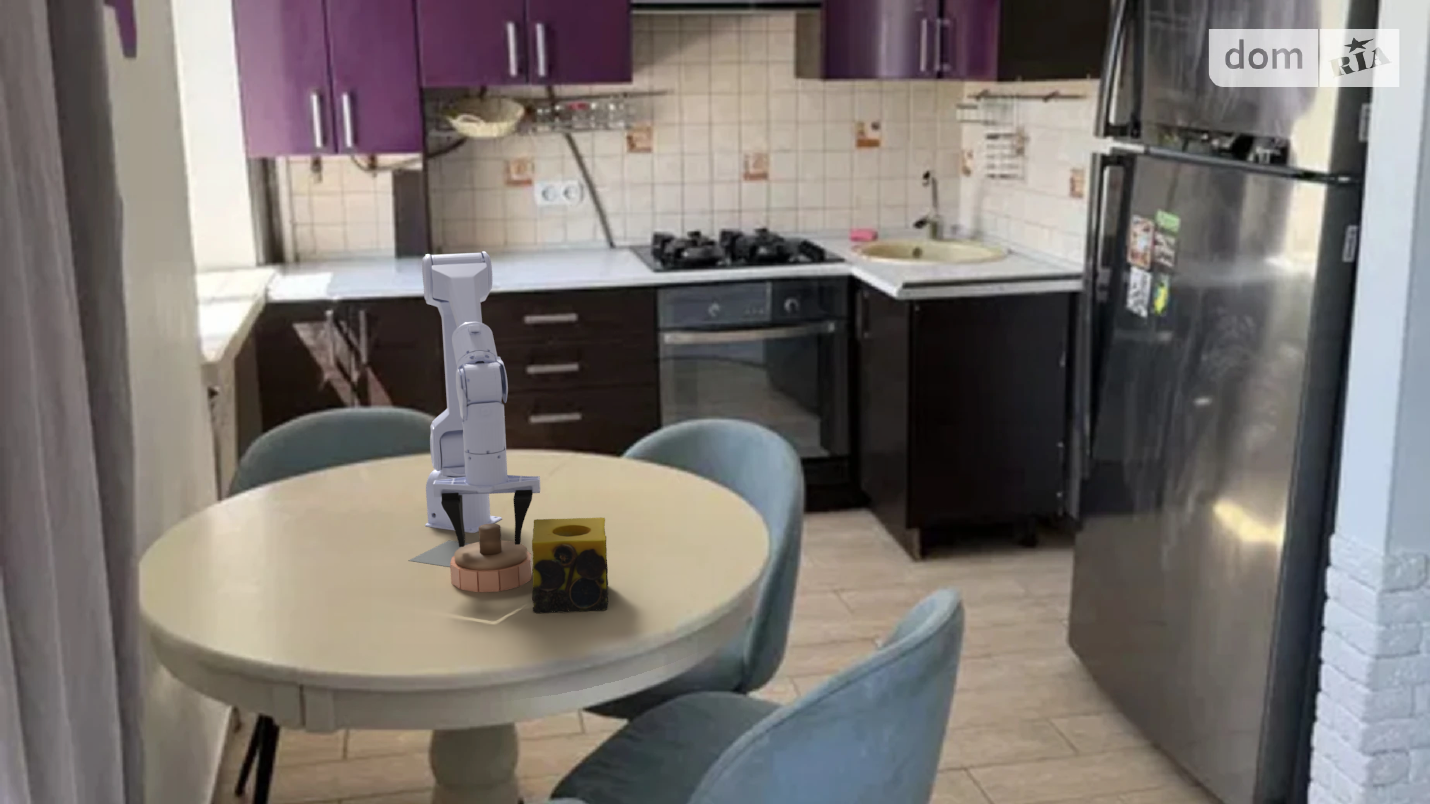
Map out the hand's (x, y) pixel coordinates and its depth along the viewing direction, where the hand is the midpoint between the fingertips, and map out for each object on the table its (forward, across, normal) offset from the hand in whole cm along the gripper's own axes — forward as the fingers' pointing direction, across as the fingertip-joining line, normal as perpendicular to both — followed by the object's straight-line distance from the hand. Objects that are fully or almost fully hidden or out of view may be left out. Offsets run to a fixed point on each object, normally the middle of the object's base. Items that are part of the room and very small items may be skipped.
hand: (490, 543), depth 191 cm
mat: (+5, -6, +11) cm, 13 cm away
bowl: (+5, 0, 0) cm, 5 cm away
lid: (+2, 0, 0) cm, 2 cm away
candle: (+6, +11, -9) cm, 15 cm away
